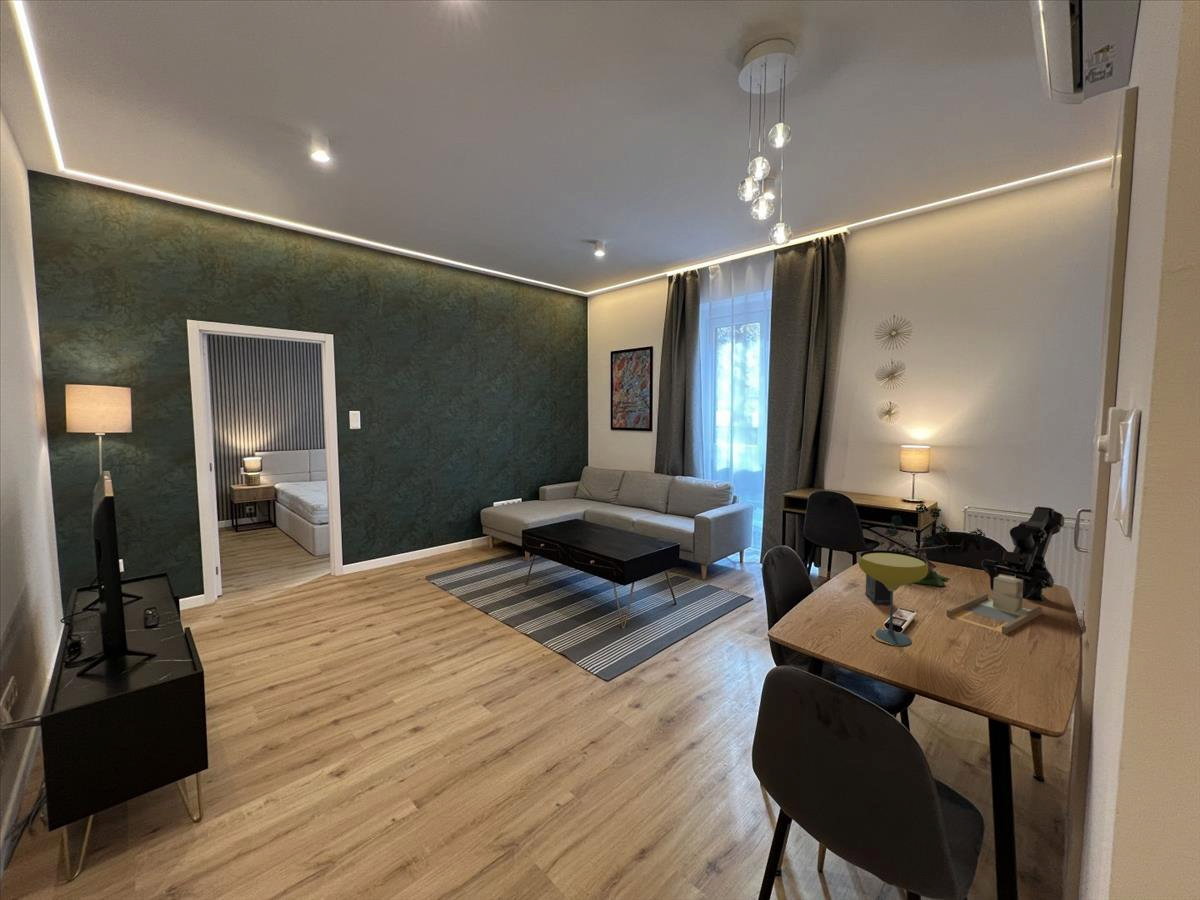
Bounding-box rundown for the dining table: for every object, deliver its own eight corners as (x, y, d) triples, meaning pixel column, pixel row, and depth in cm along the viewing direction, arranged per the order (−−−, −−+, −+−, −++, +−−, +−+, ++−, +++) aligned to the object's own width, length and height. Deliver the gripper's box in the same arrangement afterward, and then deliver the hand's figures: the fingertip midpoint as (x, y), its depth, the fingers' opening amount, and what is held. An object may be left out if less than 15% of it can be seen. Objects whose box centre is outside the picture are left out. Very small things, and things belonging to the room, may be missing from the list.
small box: (894, 606, 174) (894, 577, 173) (874, 605, 175) (874, 576, 175) (883, 595, 184) (883, 567, 184) (864, 594, 186) (865, 567, 185)
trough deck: (984, 602, 175) (984, 592, 175) (1041, 617, 161) (1042, 607, 161) (946, 620, 161) (946, 609, 161) (1005, 638, 148) (1006, 627, 147)
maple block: (1000, 602, 170) (1001, 574, 169) (1022, 608, 165) (1023, 579, 164) (992, 606, 167) (993, 578, 166) (1014, 612, 162) (1015, 583, 161)
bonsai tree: (872, 581, 199) (873, 504, 196) (887, 566, 216) (888, 496, 214) (980, 603, 175) (983, 515, 172) (988, 584, 192) (990, 504, 190)
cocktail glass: (844, 632, 155) (845, 554, 153) (883, 621, 162) (885, 547, 160) (899, 657, 138) (900, 571, 136) (940, 644, 145) (942, 561, 144)
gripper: (984, 536, 175) (968, 572, 171) (1052, 548, 159) (1036, 588, 154) (993, 554, 180) (978, 590, 175) (1060, 567, 164) (1045, 607, 159)
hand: (1007, 593), depth 166 cm, fingers open, 9 cm apart
